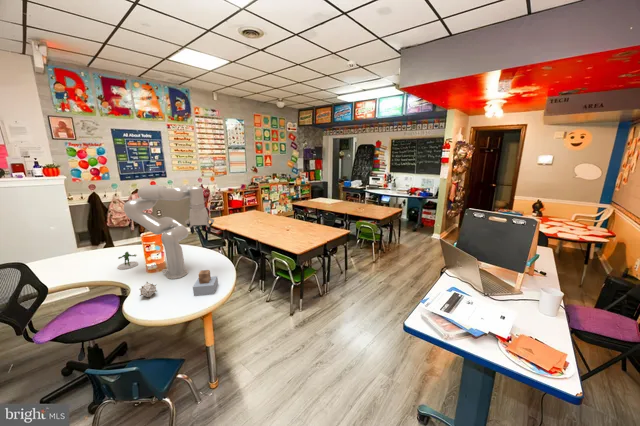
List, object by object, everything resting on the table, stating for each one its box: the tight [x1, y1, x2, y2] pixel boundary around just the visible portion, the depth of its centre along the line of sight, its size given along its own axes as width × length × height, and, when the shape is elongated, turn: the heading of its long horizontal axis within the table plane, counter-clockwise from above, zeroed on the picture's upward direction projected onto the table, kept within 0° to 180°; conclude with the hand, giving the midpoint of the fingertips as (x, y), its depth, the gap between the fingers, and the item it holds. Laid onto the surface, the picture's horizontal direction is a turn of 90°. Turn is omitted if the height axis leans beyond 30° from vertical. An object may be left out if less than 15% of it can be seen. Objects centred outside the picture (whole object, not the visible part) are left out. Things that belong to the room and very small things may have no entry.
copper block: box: [197, 269, 212, 284], centre depth 147 cm, size 5×5×6 cm
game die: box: [138, 281, 157, 299], centre depth 142 cm, size 9×8×10 cm
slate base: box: [192, 275, 219, 297], centre depth 148 cm, size 11×11×6 cm
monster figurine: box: [116, 251, 139, 271], centre depth 179 cm, size 12×12×10 cm
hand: (201, 233), depth 157 cm, fingers open, 9 cm apart
